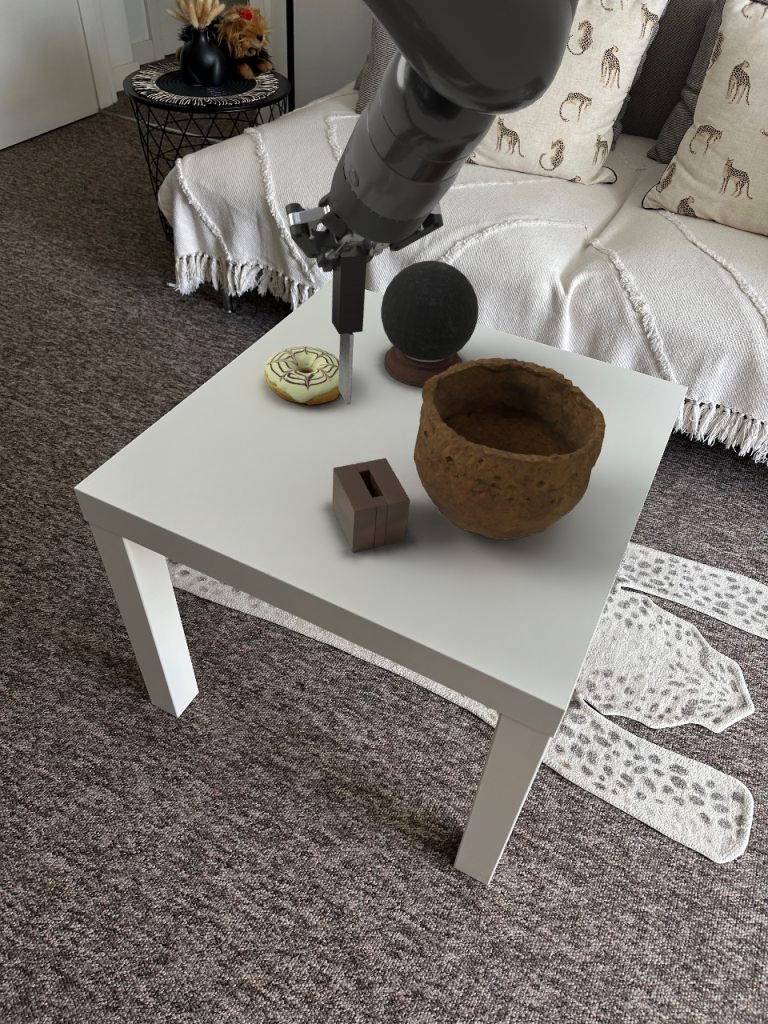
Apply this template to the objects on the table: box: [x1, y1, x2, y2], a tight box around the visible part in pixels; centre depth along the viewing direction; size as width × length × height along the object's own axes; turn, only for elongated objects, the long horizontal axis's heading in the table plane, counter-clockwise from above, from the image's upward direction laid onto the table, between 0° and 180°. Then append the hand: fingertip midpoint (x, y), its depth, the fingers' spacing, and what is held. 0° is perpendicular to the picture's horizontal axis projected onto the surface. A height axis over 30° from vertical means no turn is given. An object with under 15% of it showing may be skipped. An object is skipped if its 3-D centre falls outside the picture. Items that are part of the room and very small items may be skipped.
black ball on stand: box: [380, 260, 479, 388], centre depth 96 cm, size 13×13×15 cm
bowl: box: [413, 357, 607, 540], centre depth 75 cm, size 19×19×15 cm
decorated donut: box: [263, 346, 341, 406], centre depth 94 cm, size 10×11×4 cm
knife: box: [331, 245, 368, 406], centre depth 68 cm, size 2×3×16 cm
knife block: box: [331, 457, 411, 553], centre depth 75 cm, size 6×7×6 cm
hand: (340, 260), depth 66 cm, fingers closed on knife, 2 cm apart
